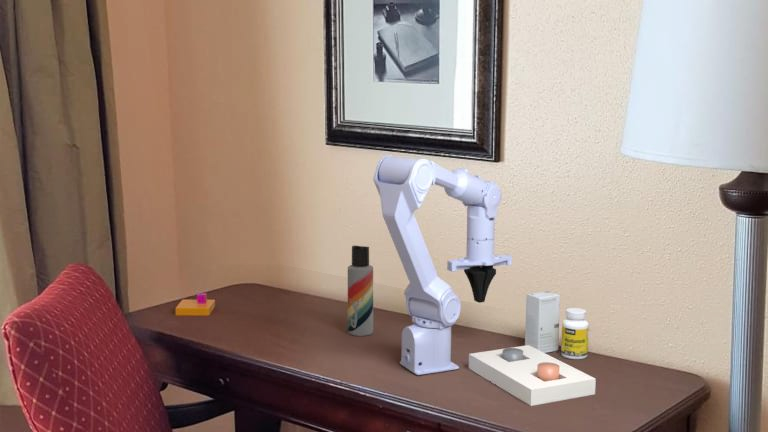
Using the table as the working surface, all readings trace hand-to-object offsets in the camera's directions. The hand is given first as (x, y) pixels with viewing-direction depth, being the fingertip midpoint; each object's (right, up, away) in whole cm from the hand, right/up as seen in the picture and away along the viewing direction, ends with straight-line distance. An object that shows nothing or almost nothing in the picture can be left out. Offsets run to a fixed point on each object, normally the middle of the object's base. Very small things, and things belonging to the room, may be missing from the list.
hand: (479, 301), depth 195 cm
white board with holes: (+8, -14, -18) cm, 24 cm away
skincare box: (+13, -11, +1) cm, 17 cm away
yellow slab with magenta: (-66, -6, +30) cm, 73 cm away
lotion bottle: (-25, -8, +13) cm, 30 cm away
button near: (+10, -14, -23) cm, 29 cm away
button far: (+5, -13, -12) cm, 18 cm away
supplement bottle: (+19, -11, -2) cm, 23 cm away
